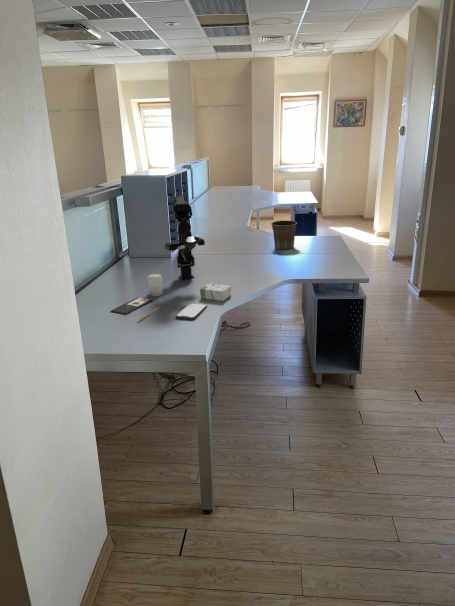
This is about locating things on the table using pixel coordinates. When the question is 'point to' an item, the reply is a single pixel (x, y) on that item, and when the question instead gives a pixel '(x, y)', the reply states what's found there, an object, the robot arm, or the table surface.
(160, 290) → the white rounded cylinder
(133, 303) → the chocolate bar
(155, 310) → the pencil
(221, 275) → the table surface
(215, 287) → the ink box
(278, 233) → the plant pot
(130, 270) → the table surface
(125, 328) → the table surface
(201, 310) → the smartphone
